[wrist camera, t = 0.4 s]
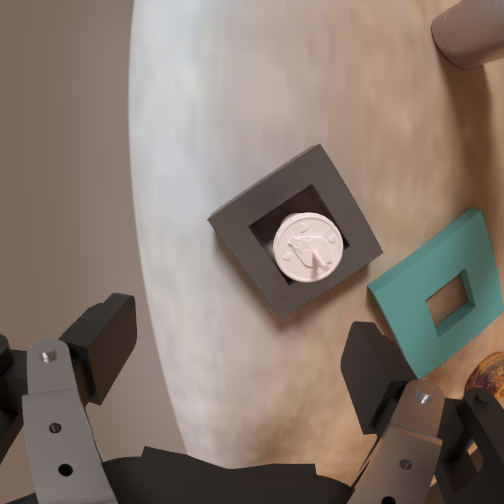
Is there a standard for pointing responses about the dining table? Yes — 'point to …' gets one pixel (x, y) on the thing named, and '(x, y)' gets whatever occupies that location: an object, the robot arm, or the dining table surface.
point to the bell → (489, 375)
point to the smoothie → (307, 246)
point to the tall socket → (274, 194)
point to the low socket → (430, 281)
